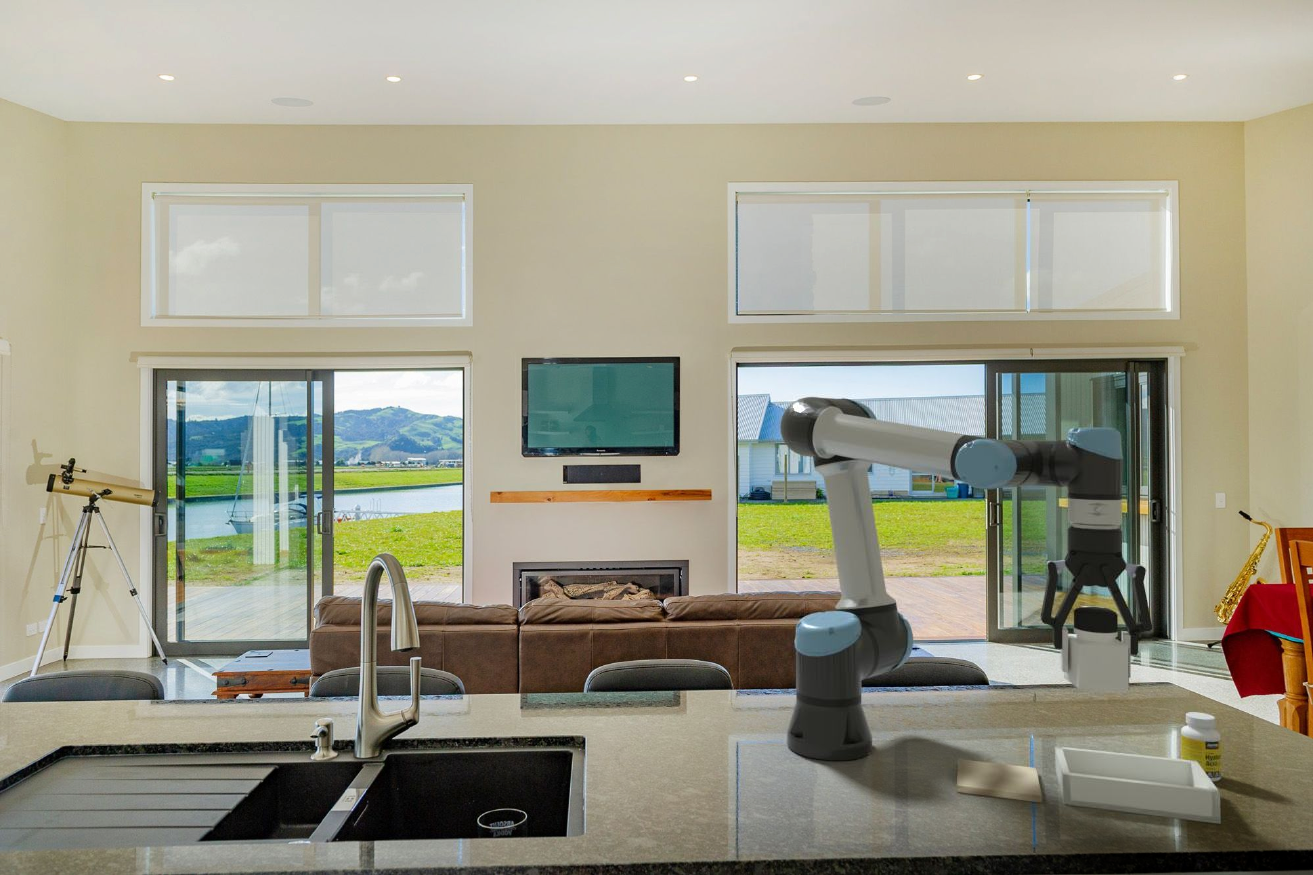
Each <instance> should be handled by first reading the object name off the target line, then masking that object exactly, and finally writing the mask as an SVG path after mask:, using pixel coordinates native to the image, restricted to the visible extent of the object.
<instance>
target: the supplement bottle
mask: <svg viewBox="0 0 1313 875" xmlns="http://www.w3.org/2000/svg"><path fill="white" fill-rule="evenodd" d="M1185 723H1186V724H1187V725H1184V726H1183V727H1182V728H1181V730H1180V755H1181V757H1180V759H1183V760H1192V761H1197V762H1198V764H1199V765H1200V766H1201V768H1202V769H1203V770H1204V772H1205V773H1206V774H1207V776H1208V777H1209V778H1210V780H1211V781H1212V782H1213V783H1214V782H1218V781H1220V780H1221V779H1222V752H1221V751H1222V750H1221V749H1222V747H1221V746H1222V745H1221V744H1222V742H1221V740H1222V739H1221V734H1220V733H1219V731H1217V730H1216V729H1214V728H1216V717H1215V716H1214V715H1211V714H1208V713H1205V712H1195V711H1189V712H1187V713H1186V714H1185Z"/></svg>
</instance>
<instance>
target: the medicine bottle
mask: <svg viewBox="0 0 1313 875" xmlns="http://www.w3.org/2000/svg"><path fill="white" fill-rule="evenodd" d="M1118 624H1119V619H1118V613H1117V612H1116V611H1114V610H1113V609H1110V608H1108V607H1102V606H1093V605H1092V606H1091V605H1086V606H1085V605H1083V606H1082V605H1081V606H1079V607H1077V608H1075V609H1074V610H1073V633H1068V672H1063V678H1064V679H1065V680H1067V682H1069V683H1071V685H1073V686H1074V687H1076V688H1077V689H1078V690H1079V691H1087V692H1111V693H1129V691H1130V678H1129V646H1128V645H1126V644H1124V643H1122V641H1120V640H1119V639H1117V637H1118V632H1119V630H1118V629H1119V628H1118Z"/></svg>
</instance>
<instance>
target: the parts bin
mask: <svg viewBox="0 0 1313 875" xmlns="http://www.w3.org/2000/svg"><path fill="white" fill-rule="evenodd" d="M1054 766H1055V767H1054V770H1055V772H1054V773H1055V777H1056V780H1057V784H1058V788H1059V792H1060V795H1061V799H1062V803H1063V805H1067V806H1068V805H1069V806H1076V807H1083V808H1084V807H1085V808H1093V809H1100V810H1107V811H1108V810H1109V811H1117V812H1123V813H1133V814H1140V815H1146V816H1147V815H1148V816H1155V817H1156V816H1157V817H1163V818H1171V819H1180V820H1188V821H1195V822H1204V823H1211V824H1218V825H1221V824H1222V822H1221V819H1222V818H1221V793H1220V792H1221V791H1220V790H1219V789H1218V788H1217V787H1216V785H1215V784H1214V782H1212V781H1211V780H1210V778H1209V777H1208V776H1207V774H1206V773H1205V772H1204V770H1203V769H1202V768H1201V766H1200V765H1199V764H1198V762H1197V761H1192V760H1183V759H1181V758H1173V757H1162V756H1153V755H1152V756H1151V755H1143V754H1133V753H1121V752H1115V751H1104V750H1097V749H1096V750H1093V749H1086V748H1077V747H1075V748H1074V747H1066V746H1057V745H1055V746H1054Z"/></svg>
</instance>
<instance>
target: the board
mask: <svg viewBox="0 0 1313 875" xmlns="http://www.w3.org/2000/svg"><path fill="white" fill-rule="evenodd" d="M957 761H958V762H957V778H956V779H957V780H956V792H957V793H963V794H971V795H979V796H988V797H994V798H1003V799H1009V800H1010V799H1011V800H1019V801H1026V802H1033V803H1034V802H1035V803H1042V802H1043V800H1042V799H1043V797H1042V790H1041V787H1040V786H1041V785H1040V782H1039V776H1038V771H1037V768H1036V767H1031V766H1023V765H1022V766H1021V765H1013V764H1003V763H994V762H986V761H985V762H984V761H978V760H968V759H959V758H958V759H957Z"/></svg>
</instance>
